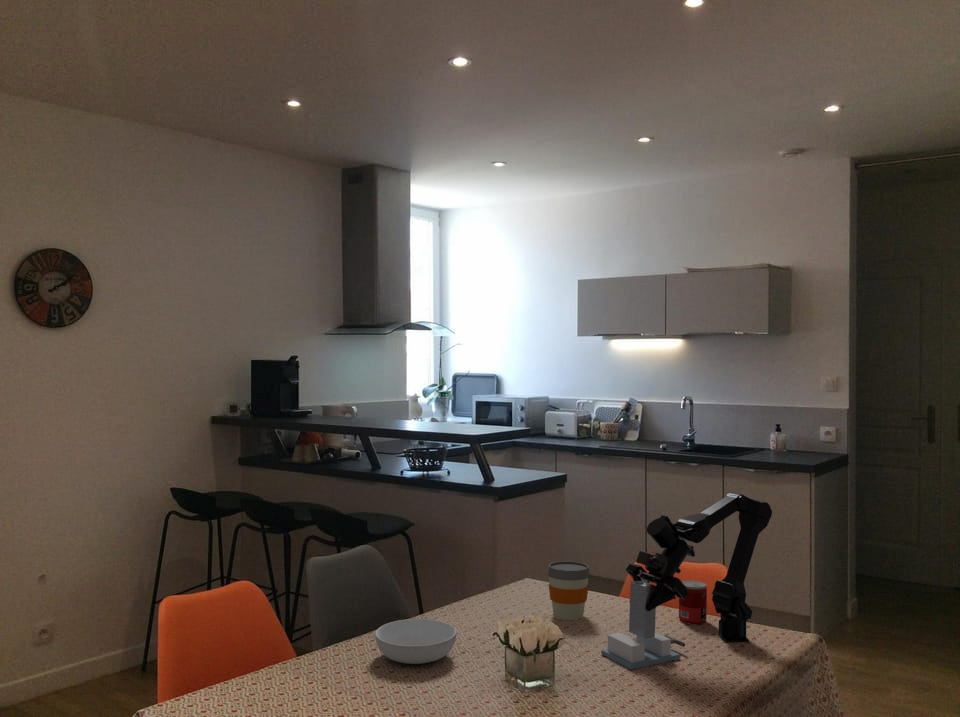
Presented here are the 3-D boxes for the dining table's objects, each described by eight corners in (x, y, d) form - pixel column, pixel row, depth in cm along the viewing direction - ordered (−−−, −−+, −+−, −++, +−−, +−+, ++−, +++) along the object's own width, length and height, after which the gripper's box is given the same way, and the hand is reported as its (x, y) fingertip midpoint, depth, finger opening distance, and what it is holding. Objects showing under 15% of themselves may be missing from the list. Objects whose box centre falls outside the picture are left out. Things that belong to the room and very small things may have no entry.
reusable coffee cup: (548, 608, 255) (548, 560, 255) (589, 610, 254) (589, 561, 254) (546, 621, 243) (546, 570, 243) (589, 623, 241) (589, 571, 241)
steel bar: (639, 630, 216) (641, 580, 217) (654, 636, 211) (656, 585, 211) (628, 631, 214) (630, 581, 215) (644, 638, 209) (646, 587, 210)
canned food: (707, 625, 240) (707, 587, 240) (679, 623, 241) (679, 586, 241) (705, 618, 247) (705, 581, 247) (678, 616, 249) (678, 579, 249)
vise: (661, 642, 224) (661, 623, 224) (691, 656, 214) (691, 636, 214) (601, 654, 215) (601, 634, 215) (630, 669, 204) (630, 648, 204)
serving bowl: (358, 658, 211) (358, 631, 211) (418, 638, 226) (418, 613, 226) (413, 679, 197) (413, 650, 197) (473, 657, 212) (473, 630, 212)
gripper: (631, 533, 223) (598, 579, 218) (679, 546, 207) (645, 597, 201) (653, 558, 227) (622, 604, 221) (702, 574, 211) (670, 624, 205)
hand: (638, 606), depth 212 cm, fingers closed on steel bar, 6 cm apart
